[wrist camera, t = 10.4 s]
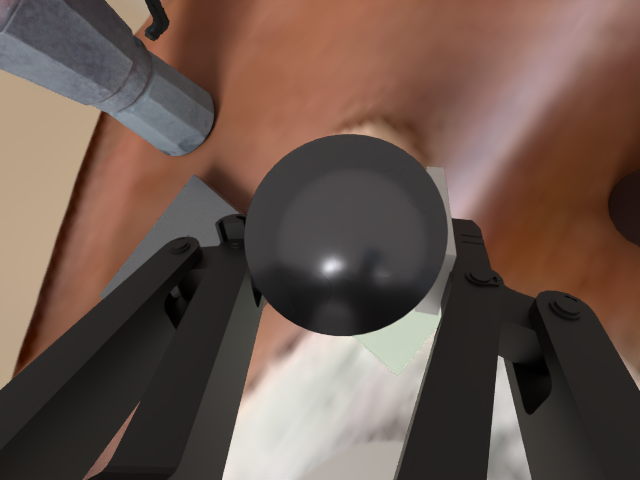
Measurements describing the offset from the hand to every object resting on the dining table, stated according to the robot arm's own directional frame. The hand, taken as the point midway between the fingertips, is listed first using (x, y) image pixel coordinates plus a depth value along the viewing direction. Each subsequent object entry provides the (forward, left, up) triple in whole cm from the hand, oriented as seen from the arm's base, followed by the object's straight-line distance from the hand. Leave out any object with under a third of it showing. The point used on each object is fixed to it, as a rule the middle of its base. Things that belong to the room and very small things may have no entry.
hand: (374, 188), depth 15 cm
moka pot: (+3, -26, -13) cm, 29 cm away
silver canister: (+3, +2, -4) cm, 6 cm away
